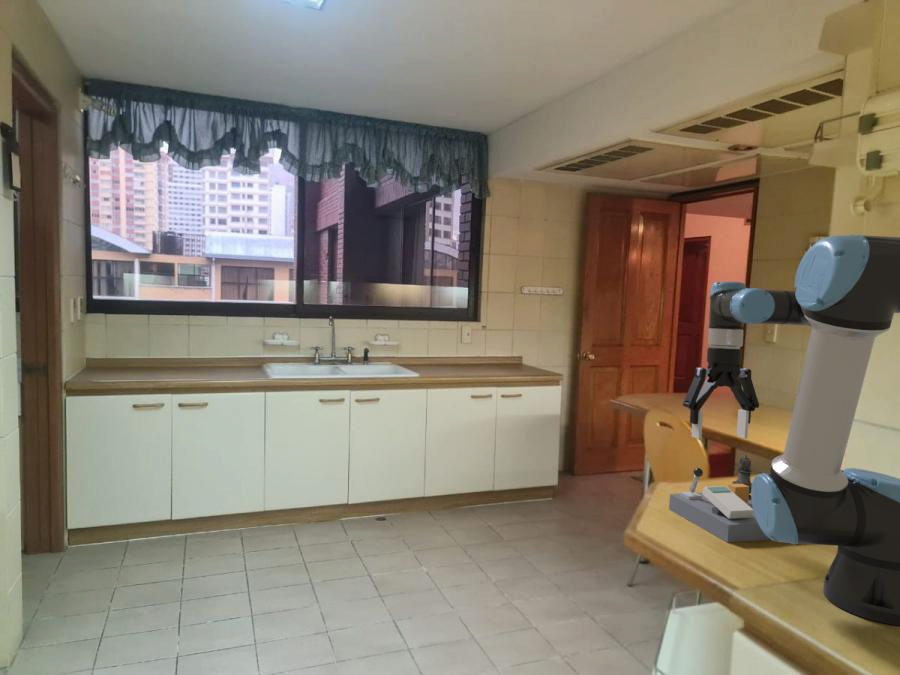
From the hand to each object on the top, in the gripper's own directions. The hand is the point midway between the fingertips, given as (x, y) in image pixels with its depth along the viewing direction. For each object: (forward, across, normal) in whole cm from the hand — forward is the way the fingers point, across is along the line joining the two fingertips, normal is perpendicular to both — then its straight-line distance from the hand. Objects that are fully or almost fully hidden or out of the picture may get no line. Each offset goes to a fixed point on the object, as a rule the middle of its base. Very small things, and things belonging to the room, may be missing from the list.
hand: (719, 437), depth 143 cm
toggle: (+16, 0, -8) cm, 18 cm away
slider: (+17, -8, -2) cm, 19 cm away
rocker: (+14, 0, +4) cm, 15 cm away
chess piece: (+21, -24, -18) cm, 37 cm away
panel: (+21, -4, 0) cm, 22 cm away
